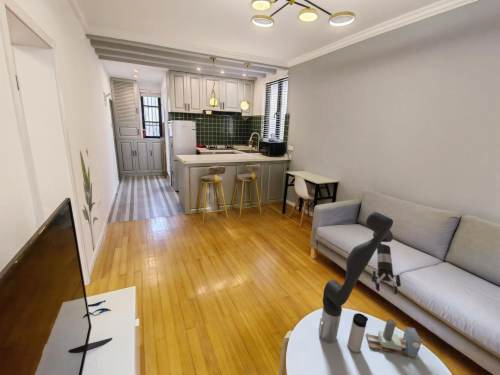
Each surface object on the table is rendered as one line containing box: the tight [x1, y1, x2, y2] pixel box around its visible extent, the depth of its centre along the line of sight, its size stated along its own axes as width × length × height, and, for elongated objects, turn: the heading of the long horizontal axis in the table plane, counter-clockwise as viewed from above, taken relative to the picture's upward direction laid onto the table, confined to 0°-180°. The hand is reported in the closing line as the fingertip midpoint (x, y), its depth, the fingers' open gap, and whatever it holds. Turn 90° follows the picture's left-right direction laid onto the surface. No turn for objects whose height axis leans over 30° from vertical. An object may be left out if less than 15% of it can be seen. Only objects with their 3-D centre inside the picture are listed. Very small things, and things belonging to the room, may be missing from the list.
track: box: [365, 333, 418, 360], centre depth 125 cm, size 22×8×2 cm, turn 77°
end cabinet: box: [402, 326, 423, 357], centre depth 121 cm, size 4×8×10 cm, turn 167°
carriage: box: [377, 318, 402, 351], centre depth 123 cm, size 9×7×13 cm
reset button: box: [398, 336, 407, 345], centre depth 122 cm, size 3×4×4 cm
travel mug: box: [346, 312, 369, 354], centre depth 120 cm, size 6×7×20 cm
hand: (386, 292), depth 129 cm, fingers open, 8 cm apart
